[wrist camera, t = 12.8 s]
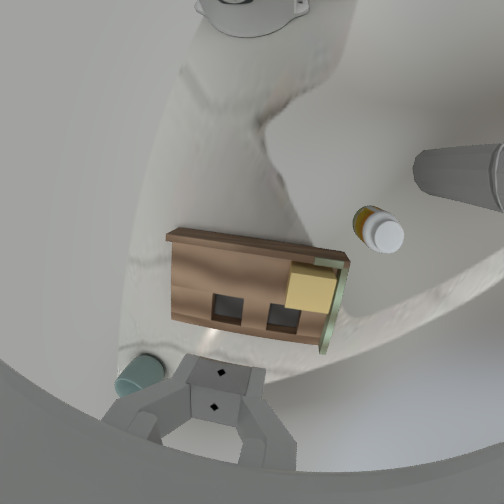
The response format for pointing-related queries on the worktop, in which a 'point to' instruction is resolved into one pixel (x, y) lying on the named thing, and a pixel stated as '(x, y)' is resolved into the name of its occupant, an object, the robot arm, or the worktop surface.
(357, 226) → the supplement bottle
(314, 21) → the worktop surface
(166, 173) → the worktop surface
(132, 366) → the cup
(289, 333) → the box
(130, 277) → the worktop surface
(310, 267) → the block
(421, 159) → the water bottle
